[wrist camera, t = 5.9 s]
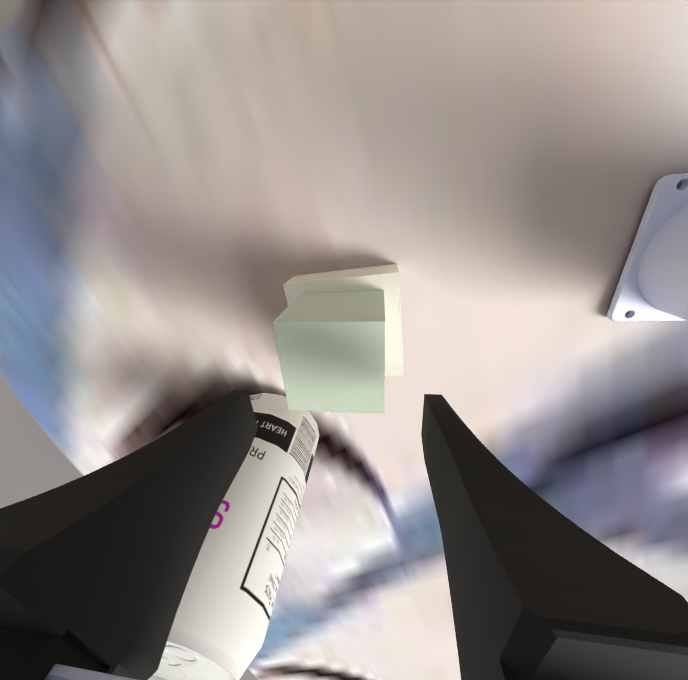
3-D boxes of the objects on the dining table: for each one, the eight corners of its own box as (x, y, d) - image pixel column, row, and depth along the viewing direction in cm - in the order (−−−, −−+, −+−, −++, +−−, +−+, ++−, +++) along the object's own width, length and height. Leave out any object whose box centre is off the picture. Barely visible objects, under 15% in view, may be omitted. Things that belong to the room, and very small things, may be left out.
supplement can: (284, 466, 28) (196, 705, 14) (219, 418, 26) (48, 642, 13) (338, 429, 25) (288, 691, 11) (268, 371, 23) (109, 603, 9)
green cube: (383, 290, 16) (385, 321, 11) (383, 363, 18) (384, 413, 14) (301, 292, 17) (272, 322, 12) (310, 362, 19) (288, 410, 14)
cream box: (396, 262, 18) (398, 272, 15) (401, 354, 21) (403, 375, 18) (296, 274, 19) (282, 284, 17) (314, 359, 22) (305, 380, 19)
